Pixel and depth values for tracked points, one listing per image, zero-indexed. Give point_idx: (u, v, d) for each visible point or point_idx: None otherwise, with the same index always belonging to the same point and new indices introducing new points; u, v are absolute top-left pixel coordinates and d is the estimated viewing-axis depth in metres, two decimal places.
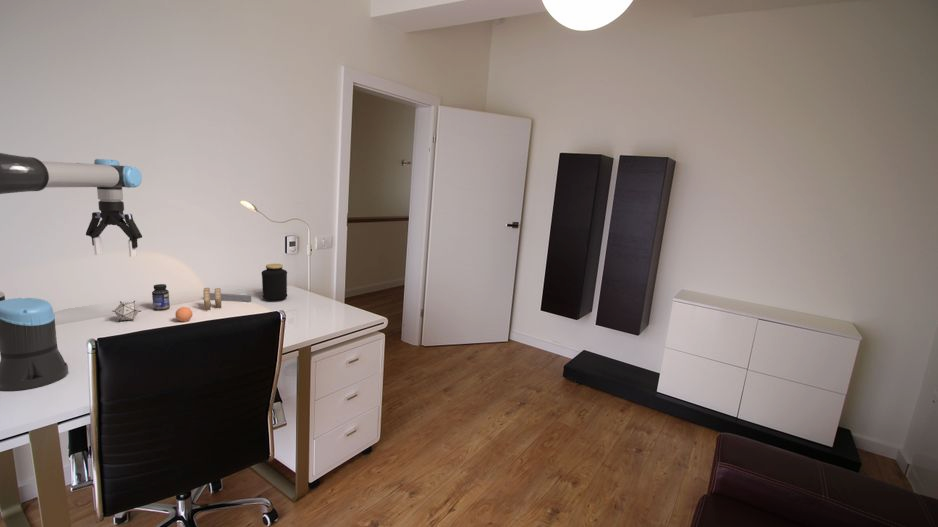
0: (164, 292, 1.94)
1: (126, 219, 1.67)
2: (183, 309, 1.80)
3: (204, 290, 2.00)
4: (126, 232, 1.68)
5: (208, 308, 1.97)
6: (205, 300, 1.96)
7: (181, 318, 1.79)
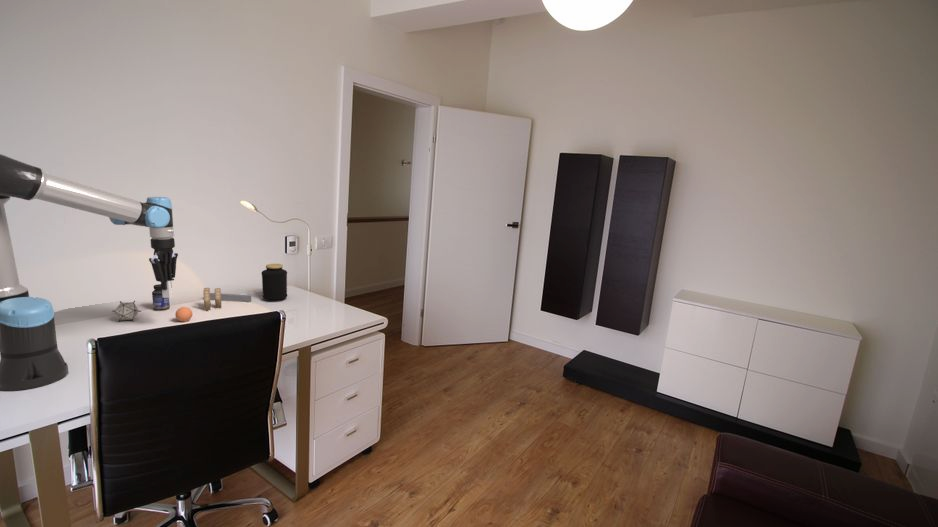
0: None
1: None
2: (183, 309, 1.80)
3: (204, 290, 2.00)
4: None
5: (208, 308, 1.97)
6: (205, 300, 1.96)
7: (181, 318, 1.79)
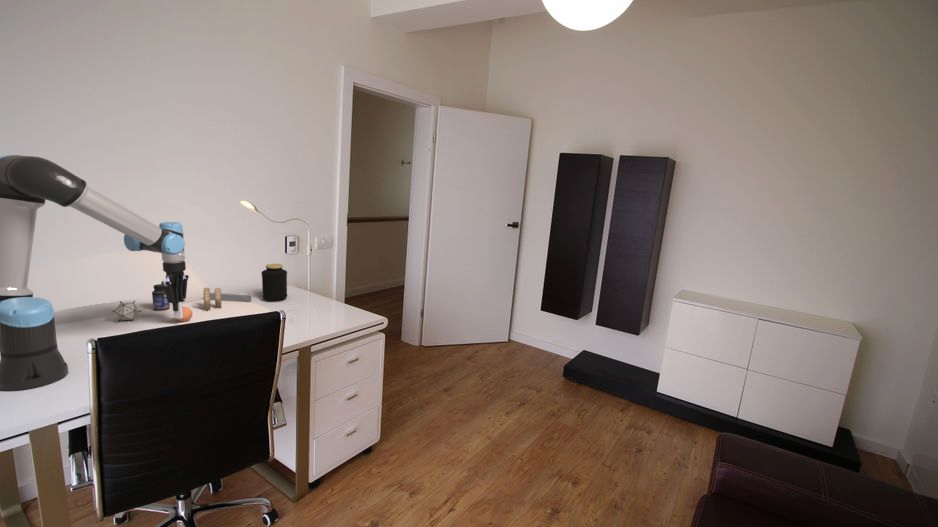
0: (164, 292, 1.94)
1: None
2: (183, 309, 1.80)
3: (204, 290, 2.00)
4: None
5: (208, 308, 1.97)
6: (205, 300, 1.96)
7: (181, 318, 1.79)
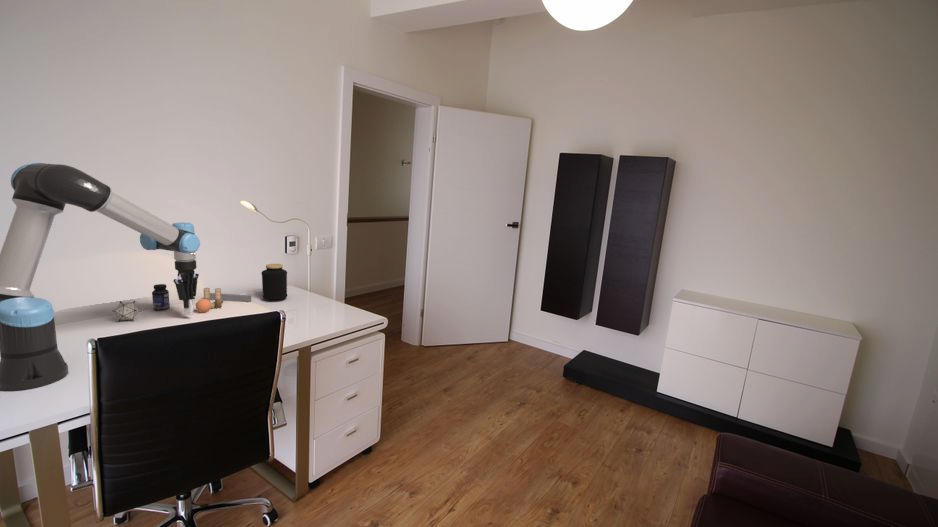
0: (164, 292, 1.94)
1: None
2: (204, 311, 1.94)
3: (204, 290, 2.00)
4: None
5: (213, 305, 2.01)
6: None
7: None
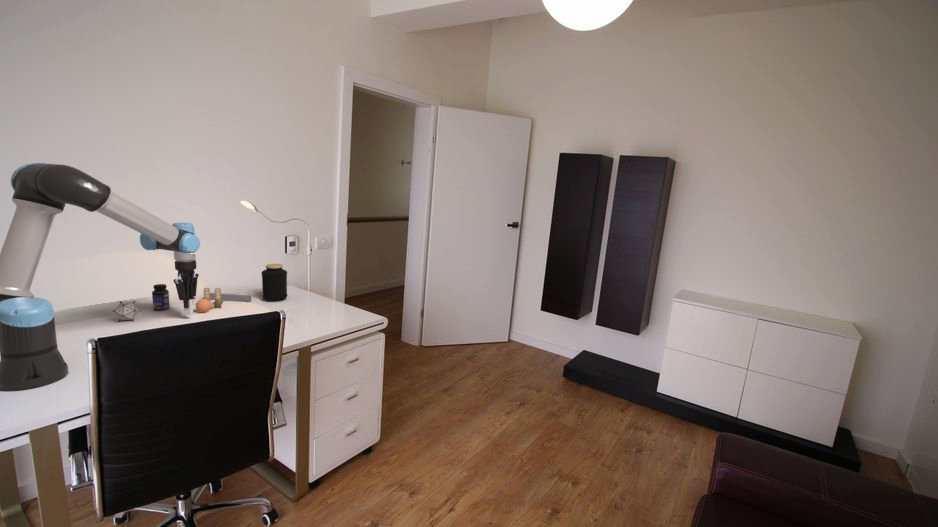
0: (164, 292, 1.94)
1: None
2: (204, 311, 1.94)
3: (204, 290, 2.00)
4: None
5: (213, 305, 2.01)
6: None
7: None
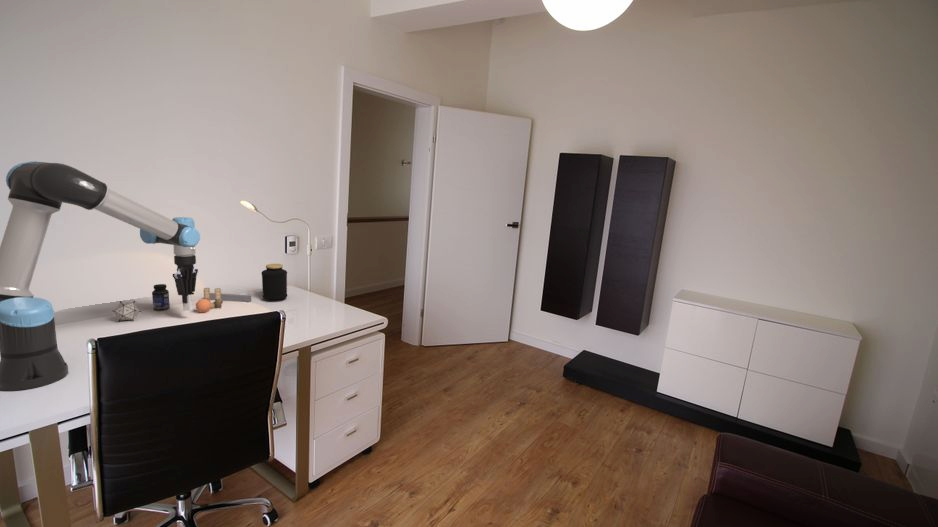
0: (164, 292, 1.94)
1: None
2: (204, 311, 1.94)
3: (204, 290, 2.00)
4: None
5: (213, 305, 2.01)
6: None
7: None
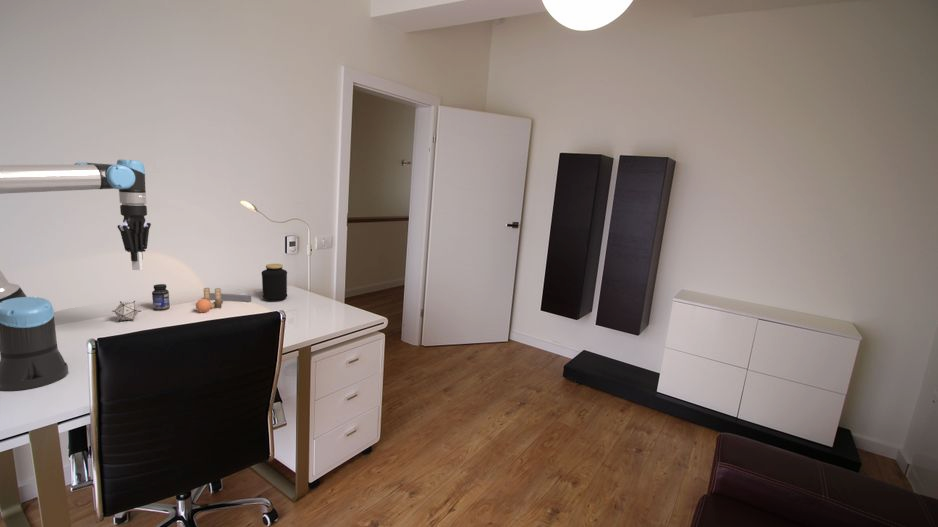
0: (164, 292, 1.94)
1: None
2: (204, 311, 1.94)
3: (204, 290, 2.00)
4: None
5: (213, 305, 2.01)
6: None
7: None
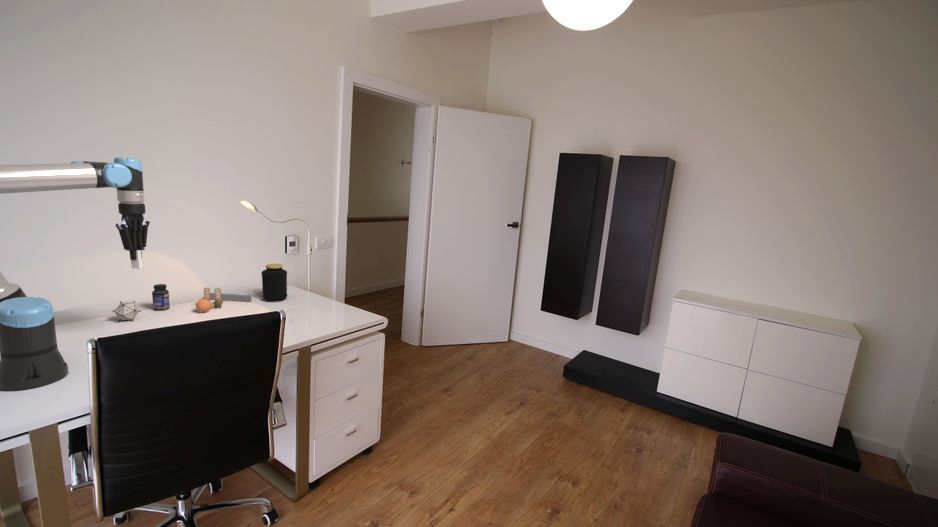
0: (164, 292, 1.94)
1: None
2: (204, 311, 1.94)
3: (204, 290, 2.00)
4: None
5: (213, 304, 2.01)
6: None
7: None
